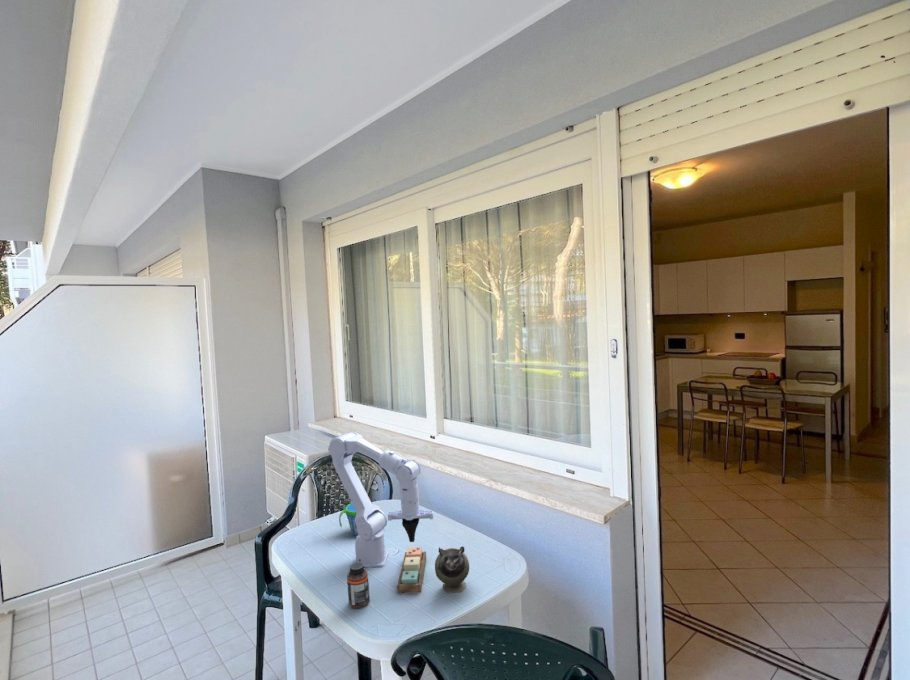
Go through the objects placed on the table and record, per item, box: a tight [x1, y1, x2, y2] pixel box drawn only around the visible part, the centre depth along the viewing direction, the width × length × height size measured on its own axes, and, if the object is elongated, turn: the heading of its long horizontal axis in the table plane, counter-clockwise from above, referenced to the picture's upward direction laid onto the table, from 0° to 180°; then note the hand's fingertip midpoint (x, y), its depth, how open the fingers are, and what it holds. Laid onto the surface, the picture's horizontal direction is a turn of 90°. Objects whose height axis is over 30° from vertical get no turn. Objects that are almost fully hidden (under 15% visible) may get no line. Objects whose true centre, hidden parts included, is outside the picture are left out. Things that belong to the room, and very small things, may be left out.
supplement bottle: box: [346, 561, 371, 609], centre depth 136 cm, size 6×6×11 cm
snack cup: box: [338, 501, 374, 537], centre depth 181 cm, size 16×11×10 cm
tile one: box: [404, 557, 421, 572], centre depth 149 cm, size 5×5×3 cm
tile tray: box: [396, 551, 427, 595], centre depth 149 cm, size 7×19×2 cm, turn 179°
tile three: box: [406, 546, 423, 561], centre depth 155 cm, size 5×5×3 cm
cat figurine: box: [434, 546, 470, 594], centre depth 141 cm, size 10×12×10 cm
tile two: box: [401, 571, 419, 584], centre depth 143 cm, size 5×5×3 cm
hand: (412, 540), depth 153 cm, fingers closed
